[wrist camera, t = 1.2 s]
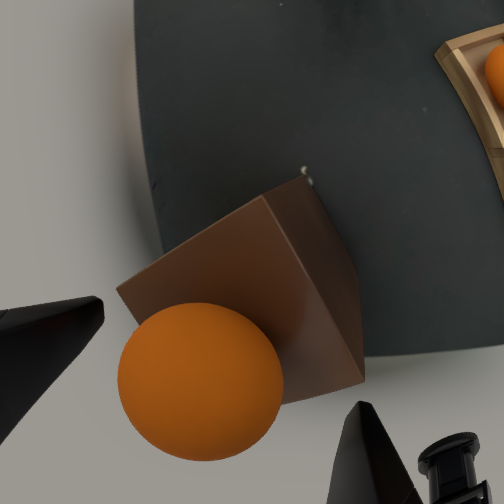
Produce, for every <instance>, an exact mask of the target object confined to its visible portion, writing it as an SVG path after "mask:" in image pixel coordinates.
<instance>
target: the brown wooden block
mask: <svg viewBox="0 0 504 504" xmlns="http://www.w3.org/2000/svg"><path fill="white" fill-rule="evenodd" d="M116 290H117V292H118V294H119V295H120V297H121V298H122V300H123V301H124V303H125V305H126V306H127V308H128V309H129V311H130V312H131V314H132V315H133V317H134V318H135V320H136V321H137V323H138V324H139V326H140V325H141V324H142V323H143V322H144V321H145V320H147V319H148V318H149V317H151V316H152V315H154V314H156V313H157V312H159V311H162V310H164V309H166V308H169V307H171V306H175V305H180V304H185V303H209V304H214V305H219V306H222V307H225V308H228V309H231V310H233V311H235V312H237V313H239V314H241V315H243V316H244V317H246V318H247V319H249V320H250V321H251V322H253V323H254V324H255V325H256V326H257V327H258V328H259V329H260V330H261V331H262V332H263V333H264V334H265V335H266V337H267V338H268V340H269V341H270V342H271V344H272V346H273V347H274V349H275V351H276V354H277V356H278V359H279V361H280V365H281V369H282V374H283V396H282V401H281V405H283V404H287V403H292V402H296V401H300V400H305V399H309V398H313V397H316V396H320V395H324V394H327V393H331V392H335V391H338V390H341V389H344V388H348V387H351V386H354V385H357V384H360V383H363V382H365V369H364V367H365V366H364V343H363V327H362V314H361V302H360V292H359V283H358V274H357V270H356V268H355V266H354V264H353V262H352V260H351V258H350V256H349V254H348V252H347V250H346V248H345V246H344V244H343V242H342V240H341V239H340V237H339V235H338V233H337V231H336V229H335V227H334V225H333V223H332V221H331V220H330V218H329V216H328V214H327V212H326V210H325V209H324V207H323V205H322V203H321V201H320V200H319V198H318V196H317V194H316V193H315V191H314V189H313V187H312V186H311V184H310V182H309V180H308V179H307V177H306V175H305V174H304V175H302V176H299V177H297V178H295V179H293V180H291V181H289V182H287V183H284V184H282V185H280V186H278V187H276V188H274V189H272V190H270V191H268V192H265V193H263V194H261V195H259V196H258V197H256V198H254V199H253V200H251V201H249V202H248V203H246V204H244V205H243V206H241V207H240V208H238V209H236V210H235V211H233V212H231V213H230V214H228V215H226V216H225V217H223V218H222V219H220V220H218V221H217V222H215V223H214V224H212V225H210V226H209V227H207V228H206V229H204V230H202V231H201V232H199V233H198V234H196V235H195V236H193V237H191V238H190V239H188V240H187V241H185V242H184V243H182V244H180V245H179V246H177V247H176V248H174V249H173V250H171V251H170V252H168V253H167V254H165V255H164V256H162V257H161V258H159V259H158V260H156V261H155V262H153V263H152V264H150V265H149V266H147V267H146V268H144V269H143V270H141V271H140V272H138V273H137V274H135V275H134V276H132V277H131V278H129V279H128V280H127V281H125V282H123V283H122V284H121V285H119V286H118V287H117V288H116Z"/></svg>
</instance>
